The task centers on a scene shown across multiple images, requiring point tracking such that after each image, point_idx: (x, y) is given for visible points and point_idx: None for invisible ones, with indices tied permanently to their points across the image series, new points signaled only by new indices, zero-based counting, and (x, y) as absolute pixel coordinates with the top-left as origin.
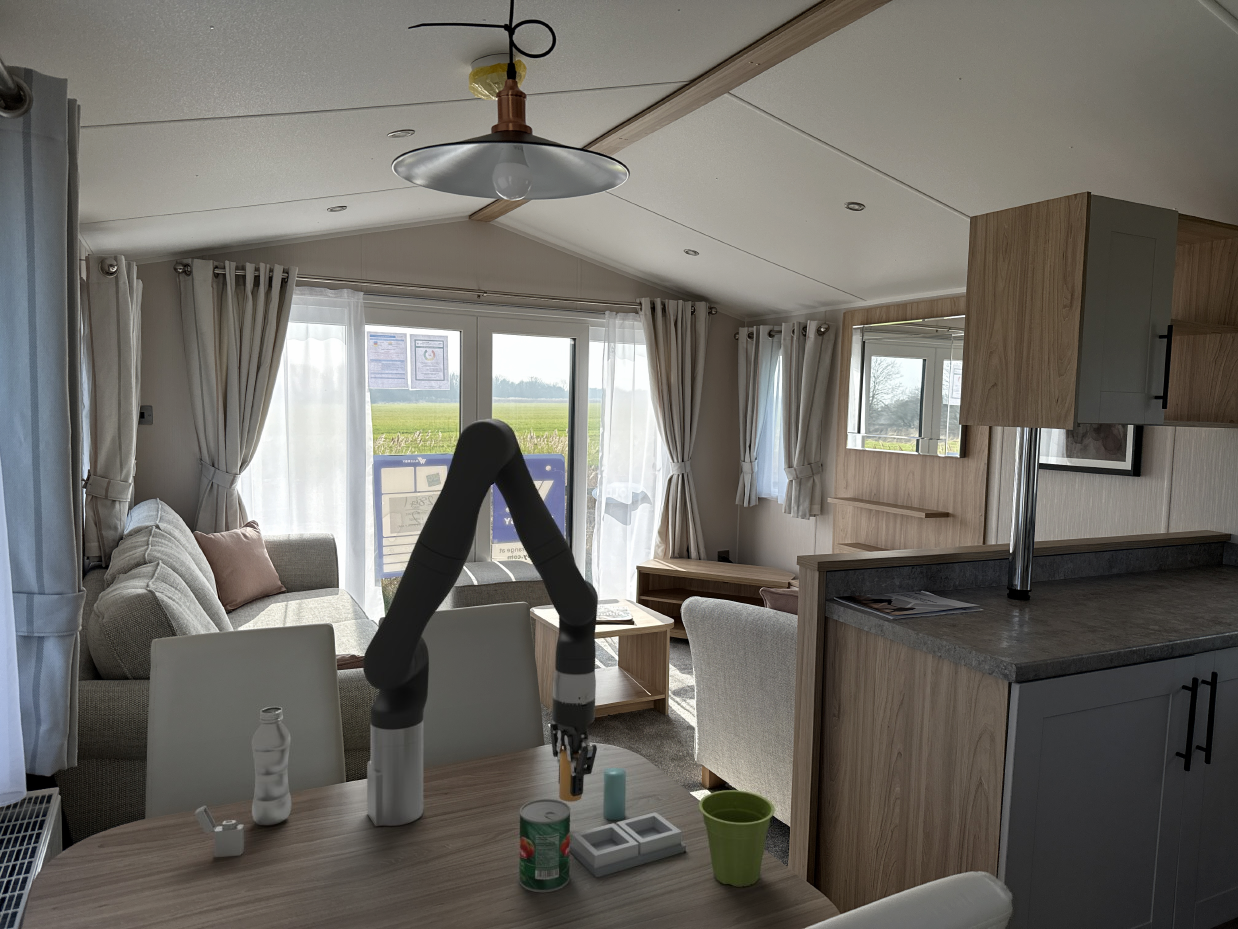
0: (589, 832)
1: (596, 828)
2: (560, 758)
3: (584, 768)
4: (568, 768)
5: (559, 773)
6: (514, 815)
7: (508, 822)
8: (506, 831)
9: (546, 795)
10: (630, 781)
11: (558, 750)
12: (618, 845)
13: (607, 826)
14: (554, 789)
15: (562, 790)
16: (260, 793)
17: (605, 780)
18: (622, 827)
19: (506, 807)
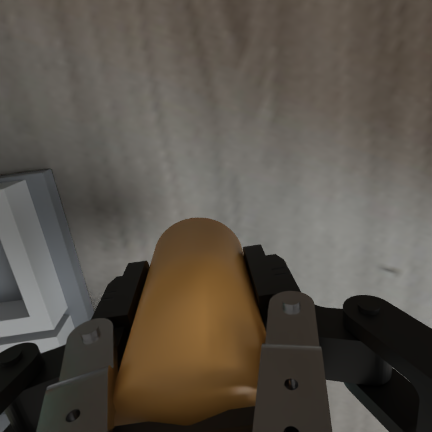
0: (4, 246)
1: (28, 274)
2: (216, 327)
3: (12, 418)
4: (136, 327)
5: (263, 268)
6: (328, 74)
7: (290, 37)
8: (230, 9)
9: (403, 213)
10: (362, 420)
11: (281, 358)
12: (1, 300)
13: (36, 307)
14: (426, 246)
15: (174, 238)
16: None
17: None
18: (19, 342)
19: (395, 64)
